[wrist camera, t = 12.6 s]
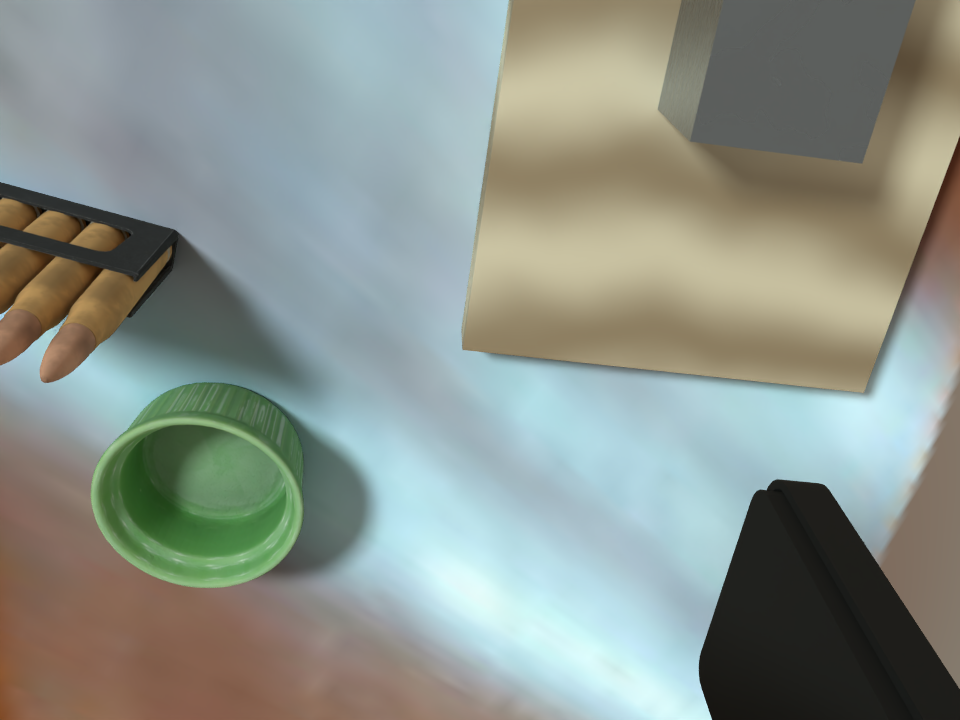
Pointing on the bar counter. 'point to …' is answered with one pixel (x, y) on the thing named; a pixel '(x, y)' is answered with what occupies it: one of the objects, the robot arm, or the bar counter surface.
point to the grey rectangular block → (783, 73)
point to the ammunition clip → (72, 274)
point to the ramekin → (203, 487)
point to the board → (693, 210)
